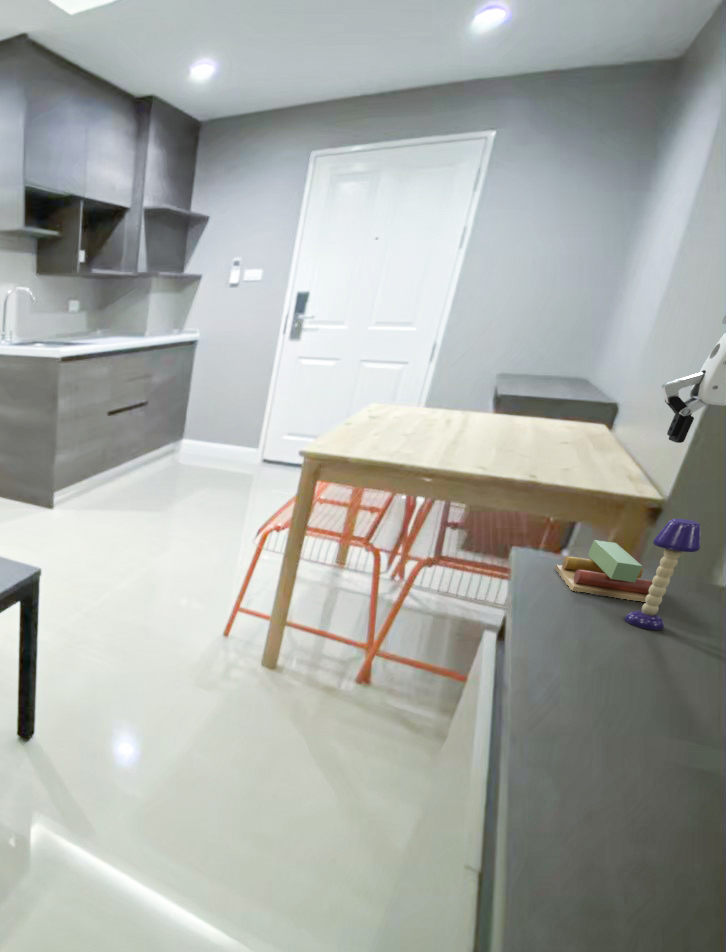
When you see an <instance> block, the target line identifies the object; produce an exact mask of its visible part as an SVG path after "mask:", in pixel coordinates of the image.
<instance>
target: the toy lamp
mask: <svg viewBox="0 0 726 952" xmlns="http://www.w3.org/2000/svg"><path fill="white" fill-rule="evenodd" d="M652 544H653V545H654V546H656V547H659V548H662V549H664V550H663V556H662V557H661V559H660V560H659V566H658V567H657V568H656V572H655V574H656V575H654V576H653V577H652V579H651V580H652V585H651V586H650V588H649V594H648V595H647V596H646V598H645V602H646V603H643V604H642V606H641V610H634V611H631V612H629V613H628V614H626V615H625V617H624V621H625V622H626V623H627V624H630V625H631V626H634V627H638V628H640V629H645V630H650V631H661V630H664V627H665V624H664V620H663V619H662V618H661V616H659V615H658V612H659V609H660V608H659V606H660V605H662V604H661V603H662V602H663V596H664V595H665V594H666V593H667V587H668V586H669V584H670V583H671V577H672V576H673V575H674V572H675V570H674V569H675V567H676V566H677V565H678V562H679V559H678V558H681V556H682V553H684V552H685V553H696V552H698V551H700V548H701V524H700V523H699V522H698V521H696V520H692V519H685V518H672V519H670V520H669V521H668V522H667V523H666V525H664V526H663V528H662V529H661V530H660V531H659V532H658V534H657V535H656V536H655V538H654V539H653V541H652Z"/></svg>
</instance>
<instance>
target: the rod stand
mask: <svg viewBox="0 0 726 952" xmlns="http://www.w3.org/2000/svg"><path fill="white" fill-rule="evenodd" d="M643 568H644V567H642V568H641V570H640V573H639V575H638V577H637V579H636V581H635V582H628V581H622V580H615V579H611V578H610V577H609V576H608V575H607V574H606V573H605V572H604V571H603V570H602V569H601V568H600V567H599V566H598V565H597V564H596V563H595V562H594V561H593V560H592V559H591V558H585V557H584V558H583V557H576V556H569V555H567V556H564V558H563V560H562V564H555V566H554V570H555V569H556V570H557V571H558V573H559V574H558V573H557V574H558V576H559V577H560V576H561V577H560V578H561V579H562V581H563V580H564V581H565V582H564V581H563V582H564V583H565V584H566V586H567V585H568V586H569V587H568V586H567V587H568V589H569V590H570V591H571V590H572V591H571V592H573V591H575V592H576V591H577V592H576V593H580V592H586V593H593V594H598V595H605V596H611V597H615V598H614V599H616V597H617V598H622V599H621V600H623V599H627V600H626V601H629V600H637V601H641V602H645V598H646V596H647V595H648V594H649V588H650V586H651V585H652V580H653V579H644V578H642V576H643V572H644V569H643ZM556 570H555V571H556ZM575 592H574V593H575ZM586 593H585V594H586ZM598 595H597V596H598ZM641 602H640V603H641Z"/></svg>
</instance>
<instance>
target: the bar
mask: <svg viewBox="0 0 726 952" xmlns="http://www.w3.org/2000/svg"><path fill="white" fill-rule="evenodd" d="M587 556H588V557H589V559H591V560H593V561H594V562H595V563H596V564H597V565H598V566H599V567H600V568H601V569H602V570H603V571H604V572H605V573H606V574H607V575H608V576H609V577H610V578H611V579H615V580H622V581H628V582H635V581H636V579H637V577H638V575H639V573H640V570H641V568H643V565H642V564H641V563H640V562H638V561H637V560H636V559H635V558H634V557H632V555H631V554H629V553H628V552H627V551H626V550H625V549H624V548H623V547H621V545H619V544H618V543H617V542H611V541H605V540H596V539H593V542H592V544H591V546H590V549H589V551H588V554H587Z"/></svg>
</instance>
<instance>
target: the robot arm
mask: <svg viewBox="0 0 726 952" xmlns="http://www.w3.org/2000/svg"><path fill="white" fill-rule="evenodd" d="M721 324H723V325H726V314H725V315H724V316H723V318H722V321H721ZM691 386H692V387H691ZM688 387H691V389H690V393H689V398H687V399H686V400H684V401H683V400H682V399H681V397H680V395H679V392H680V390H681V389H684V388H688ZM661 390H662V393H663V397H664V402H665V403H666V405H667V406H668V407H669V408H670V410H671V411H672V413H673V414H674V415H673V418H672V420H671V423H670V425H669V428H668V430H667V431H666V434H667V436H668V441H671V442H673V443H677V444H680V443H684V442H685V440H686V438H687V436H688V434H689V431H690V429H691V427H692V424H693V422H694V420H695V417H694V416H692V414H693V413H695V412H697V411H698V410H700V409H702V408H703V407H705V406H707V405H712V406H724V407H726V332H724V334H723V335H722V336H721V337H720V339H719V340H718V341H717V342H716V344H715V346H714V347H713V348H712V349H711V351H710V353H709V355H708V356H707V358H706V359H705V361H704V362H703V364H702V367H701V368H700V370H699V372H698V373H695V374H691V375H688V376H685V377H681V378H677V379H674V380H671V381H668V382H665V383H663V384H662V385H661Z"/></svg>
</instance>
